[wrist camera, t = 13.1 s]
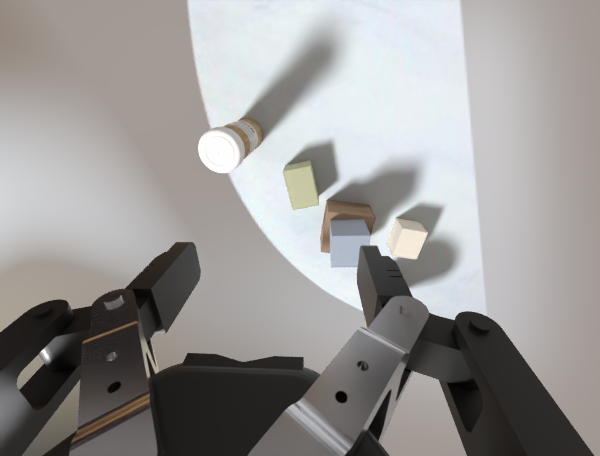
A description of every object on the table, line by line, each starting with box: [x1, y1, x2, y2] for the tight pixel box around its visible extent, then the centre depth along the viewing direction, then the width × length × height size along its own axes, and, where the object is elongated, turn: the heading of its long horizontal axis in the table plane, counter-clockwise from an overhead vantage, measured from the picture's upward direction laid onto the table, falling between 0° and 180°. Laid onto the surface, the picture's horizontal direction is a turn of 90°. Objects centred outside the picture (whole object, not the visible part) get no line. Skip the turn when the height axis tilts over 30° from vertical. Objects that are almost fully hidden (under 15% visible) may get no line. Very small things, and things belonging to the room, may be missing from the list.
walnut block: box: [320, 200, 375, 253], centre depth 43 cm, size 7×7×5 cm
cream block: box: [386, 218, 428, 260], centre depth 44 cm, size 5×4×4 cm
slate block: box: [330, 219, 370, 267], centre depth 38 cm, size 5×5×5 cm
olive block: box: [283, 160, 319, 210], centre depth 40 cm, size 6×4×4 cm, turn 13°
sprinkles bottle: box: [198, 119, 262, 173], centre depth 33 cm, size 5×5×13 cm
